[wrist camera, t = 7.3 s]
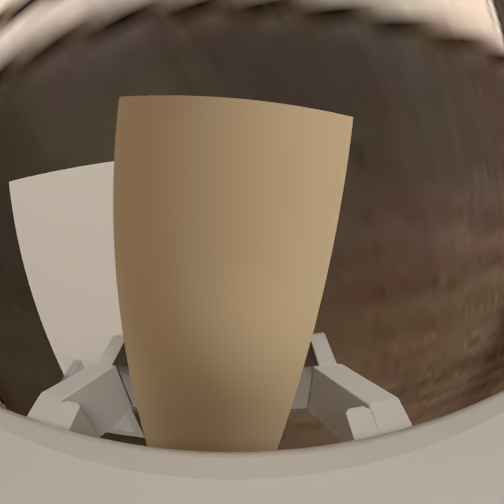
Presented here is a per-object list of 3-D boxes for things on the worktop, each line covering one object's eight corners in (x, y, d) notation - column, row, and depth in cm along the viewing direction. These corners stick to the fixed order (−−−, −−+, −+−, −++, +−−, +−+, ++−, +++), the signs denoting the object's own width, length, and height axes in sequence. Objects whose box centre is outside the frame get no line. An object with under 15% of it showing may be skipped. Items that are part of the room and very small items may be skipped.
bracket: (137, 158, 20) (106, 163, 14) (178, 402, 28) (171, 442, 23) (19, 179, 19) (-22, 191, 14) (81, 391, 27) (65, 425, 22)
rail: (295, 130, 9) (353, 117, 4) (248, 432, 13) (251, 514, 9) (182, 119, 8) (119, 96, 4) (181, 426, 13) (168, 507, 8)
